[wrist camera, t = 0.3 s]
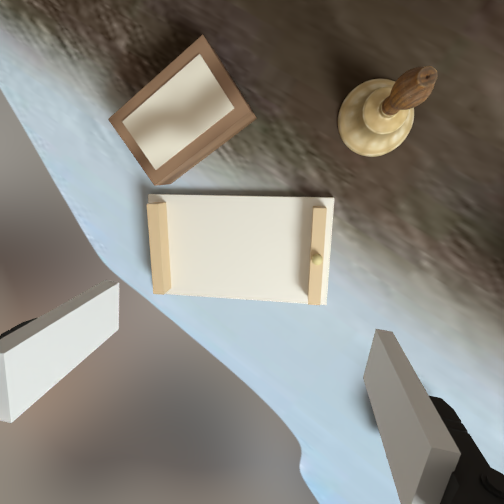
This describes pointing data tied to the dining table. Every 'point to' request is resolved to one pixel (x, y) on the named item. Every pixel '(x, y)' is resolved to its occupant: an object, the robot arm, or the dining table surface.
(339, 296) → the dining table surface
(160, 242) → the wall panel
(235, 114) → the frame
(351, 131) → the hand bell
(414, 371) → the robot arm
